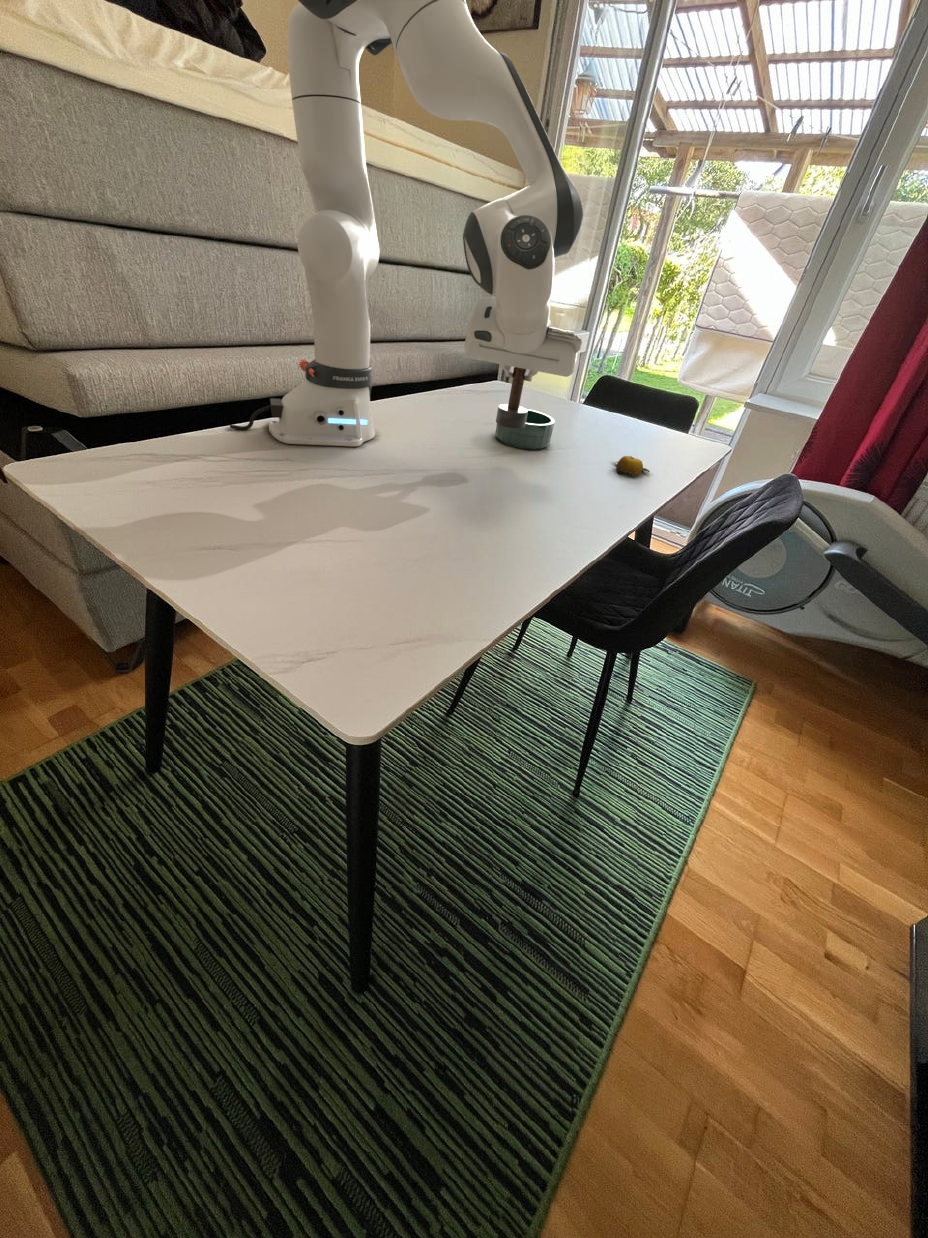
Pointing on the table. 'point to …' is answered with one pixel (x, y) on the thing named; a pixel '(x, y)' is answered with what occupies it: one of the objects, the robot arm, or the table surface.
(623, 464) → the fruit
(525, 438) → the bowl
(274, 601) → the table surface
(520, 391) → the ring toss peg
